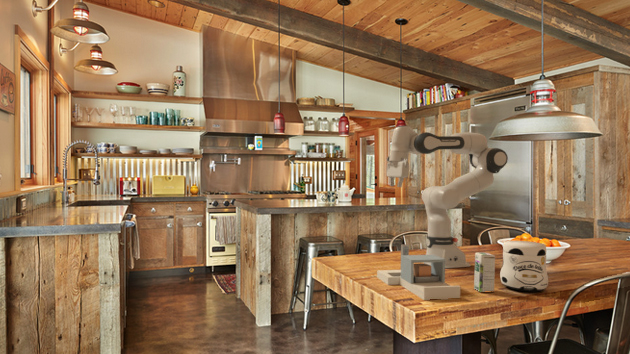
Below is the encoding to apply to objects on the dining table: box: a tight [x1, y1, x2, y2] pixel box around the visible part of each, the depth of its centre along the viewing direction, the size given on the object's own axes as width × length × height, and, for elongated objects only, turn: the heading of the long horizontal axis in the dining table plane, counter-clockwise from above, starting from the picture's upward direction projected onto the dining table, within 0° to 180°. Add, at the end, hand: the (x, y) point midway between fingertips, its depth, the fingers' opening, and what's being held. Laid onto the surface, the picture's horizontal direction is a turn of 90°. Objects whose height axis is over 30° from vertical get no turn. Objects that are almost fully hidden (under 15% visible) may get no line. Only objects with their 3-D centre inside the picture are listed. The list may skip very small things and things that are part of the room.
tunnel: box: [400, 254, 446, 284], centre depth 175 cm, size 14×10×9 cm
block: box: [414, 263, 431, 276], centre depth 175 cm, size 5×5×6 cm
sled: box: [400, 244, 439, 282], centre depth 182 cm, size 10×23×11 cm, turn 12°
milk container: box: [499, 240, 549, 292], centre depth 176 cm, size 17×17×18 cm
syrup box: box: [473, 251, 496, 293], centre depth 171 cm, size 6×6×14 cm
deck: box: [376, 269, 461, 301], centre depth 175 cm, size 19×36×4 cm, turn 12°
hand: (395, 186), depth 215 cm, fingers open, 8 cm apart
